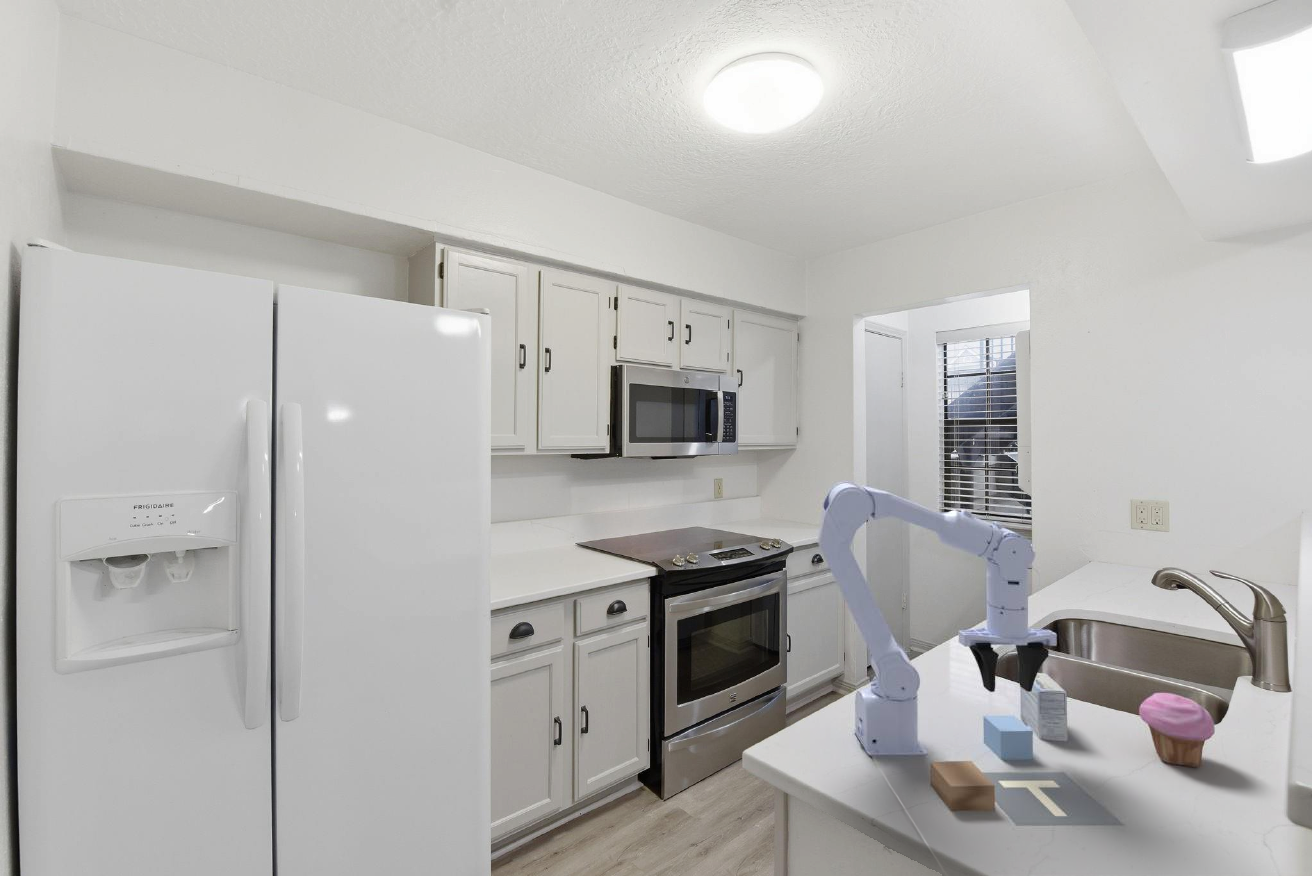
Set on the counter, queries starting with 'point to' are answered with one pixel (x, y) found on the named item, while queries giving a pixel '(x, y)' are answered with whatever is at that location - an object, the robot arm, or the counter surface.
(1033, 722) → the medicine box
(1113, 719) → the counter surface
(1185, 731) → the cupcake
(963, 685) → the counter surface
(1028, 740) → the blue cube
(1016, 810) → the board
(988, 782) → the walnut block
